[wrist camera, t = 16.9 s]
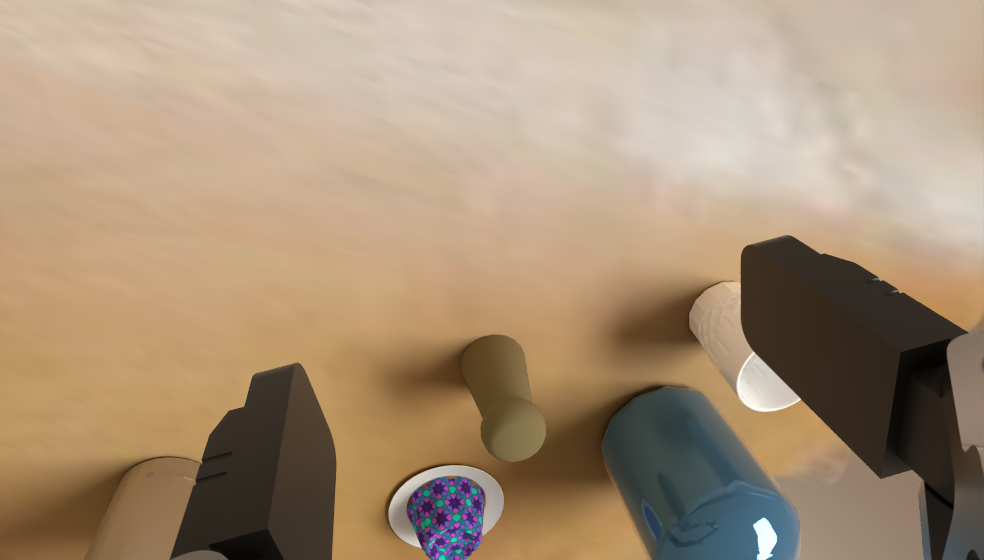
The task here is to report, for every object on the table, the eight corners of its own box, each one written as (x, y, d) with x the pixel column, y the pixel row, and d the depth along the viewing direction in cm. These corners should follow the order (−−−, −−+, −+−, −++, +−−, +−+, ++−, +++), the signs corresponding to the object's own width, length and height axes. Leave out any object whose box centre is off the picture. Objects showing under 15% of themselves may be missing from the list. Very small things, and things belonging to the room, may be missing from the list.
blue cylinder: (690, 357, 62) (930, 657, 36) (733, 437, 68) (963, 742, 42) (571, 427, 63) (717, 764, 37) (624, 499, 69) (781, 830, 43)
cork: (457, 390, 58) (476, 476, 49) (462, 335, 56) (483, 415, 46) (520, 388, 60) (550, 472, 50) (528, 334, 57) (561, 412, 47)
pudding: (434, 442, 61) (440, 482, 57) (525, 486, 66) (537, 526, 62) (364, 520, 64) (364, 564, 60) (456, 557, 69) (462, 600, 65)
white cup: (751, 261, 58) (820, 316, 49) (766, 324, 61) (832, 387, 53) (673, 297, 58) (727, 359, 49) (692, 358, 62) (746, 425, 53)
